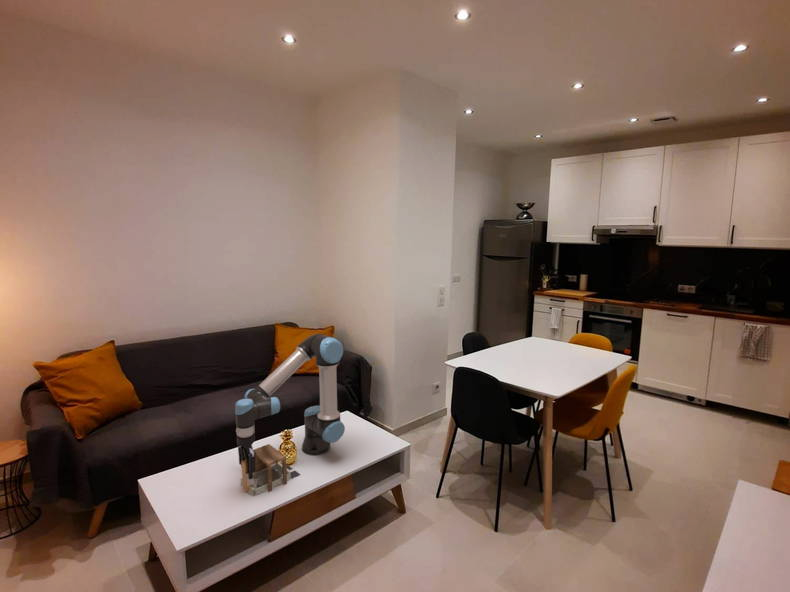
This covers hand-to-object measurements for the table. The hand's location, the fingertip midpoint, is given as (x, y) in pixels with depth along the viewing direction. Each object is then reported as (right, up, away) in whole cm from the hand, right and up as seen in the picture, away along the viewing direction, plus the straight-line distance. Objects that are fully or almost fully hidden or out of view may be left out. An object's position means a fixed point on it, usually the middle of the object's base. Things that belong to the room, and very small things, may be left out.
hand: (247, 482), depth 187 cm
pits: (+15, -2, +15) cm, 21 cm away
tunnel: (+7, -3, +8) cm, 11 cm away
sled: (+6, -2, +6) cm, 9 cm away
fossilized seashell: (+8, -3, +7) cm, 11 cm away
